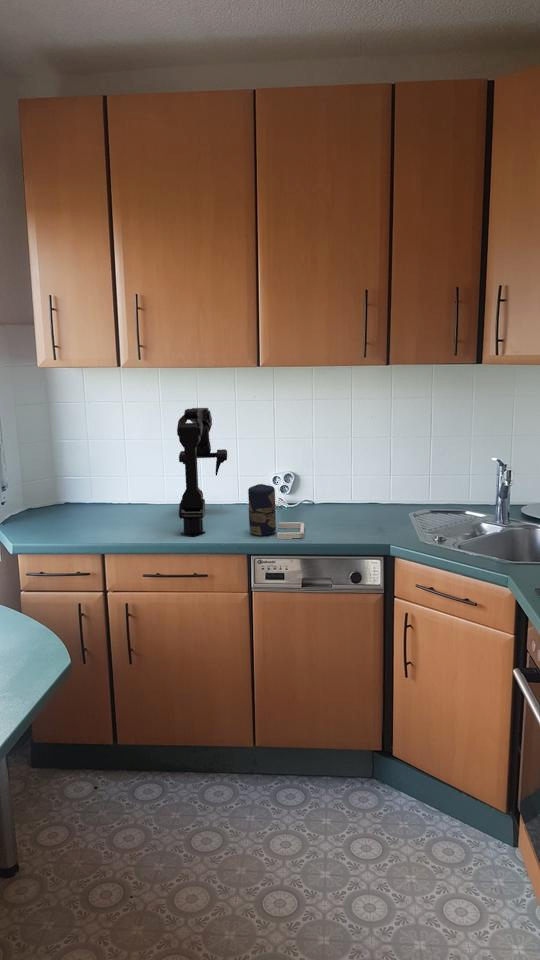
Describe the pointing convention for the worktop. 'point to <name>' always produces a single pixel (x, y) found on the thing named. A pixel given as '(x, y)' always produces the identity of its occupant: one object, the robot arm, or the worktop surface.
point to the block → (291, 534)
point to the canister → (262, 509)
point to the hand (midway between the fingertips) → (204, 475)
